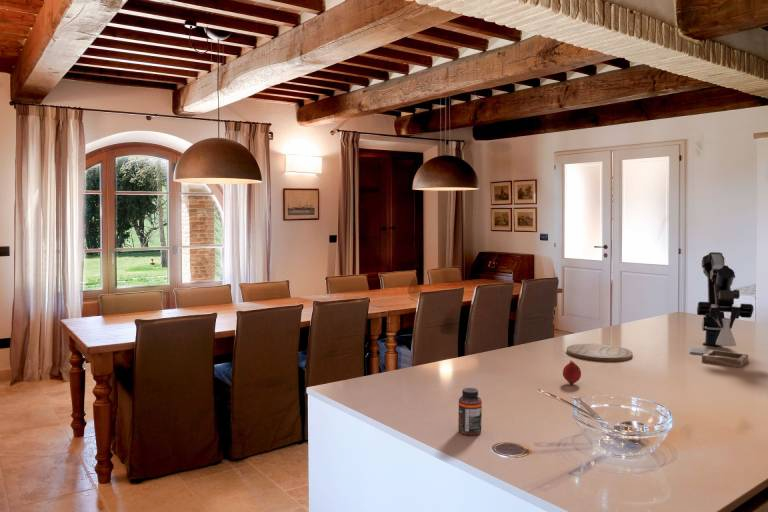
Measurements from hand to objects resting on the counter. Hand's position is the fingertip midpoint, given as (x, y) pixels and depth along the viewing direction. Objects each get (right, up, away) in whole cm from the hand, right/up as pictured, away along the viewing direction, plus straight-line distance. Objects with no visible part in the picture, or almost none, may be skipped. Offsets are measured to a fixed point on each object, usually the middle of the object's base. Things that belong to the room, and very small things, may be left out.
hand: (726, 327), depth 237 cm
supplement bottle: (-107, -19, -74) cm, 131 cm away
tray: (+1, -13, +2) cm, 13 cm away
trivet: (-43, -13, +14) cm, 47 cm away
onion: (-67, -16, -29) cm, 75 cm away
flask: (+1, -7, +2) cm, 7 cm away
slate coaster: (0, -12, +16) cm, 20 cm away
